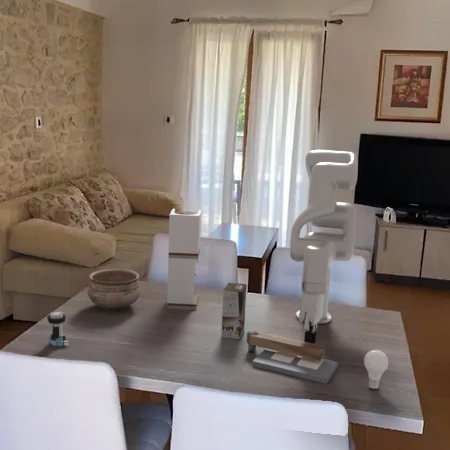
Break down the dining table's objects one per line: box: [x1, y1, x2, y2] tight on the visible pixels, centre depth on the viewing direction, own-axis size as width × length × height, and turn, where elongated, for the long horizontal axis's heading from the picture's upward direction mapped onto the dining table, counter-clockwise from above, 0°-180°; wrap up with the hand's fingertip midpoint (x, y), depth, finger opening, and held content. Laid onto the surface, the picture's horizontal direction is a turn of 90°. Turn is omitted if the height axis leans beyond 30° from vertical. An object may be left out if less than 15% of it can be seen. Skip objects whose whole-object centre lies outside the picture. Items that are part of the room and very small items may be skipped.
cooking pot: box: [87, 268, 142, 312], centre depth 207 cm, size 25×19×12 cm
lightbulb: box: [363, 349, 389, 390], centre depth 155 cm, size 6×6×11 cm
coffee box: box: [220, 282, 247, 340], centre depth 188 cm, size 9×6×16 cm
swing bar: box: [246, 330, 326, 361], centre depth 172 cm, size 4×24×3 cm, turn 65°
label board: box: [252, 348, 339, 385], centre depth 168 cm, size 12×22×2 cm, turn 65°
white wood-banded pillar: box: [166, 208, 202, 311], centre depth 212 cm, size 11×11×35 cm
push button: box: [46, 310, 70, 347], centre depth 175 cm, size 7×5×10 cm
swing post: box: [247, 343, 257, 354], centre depth 176 cm, size 2×2×3 cm
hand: (309, 343), depth 175 cm, fingers closed
